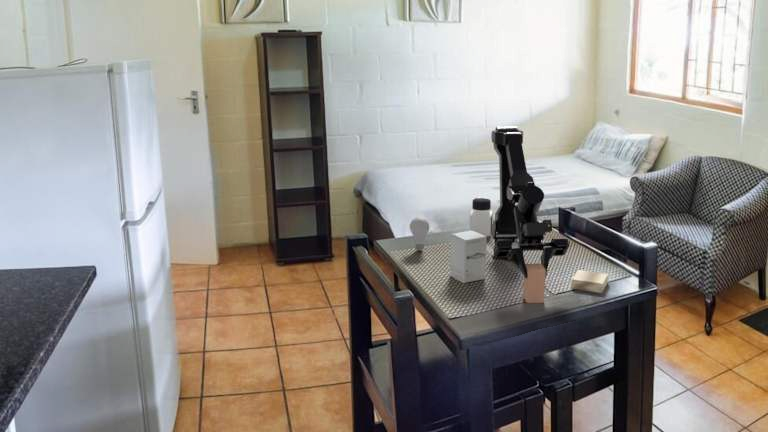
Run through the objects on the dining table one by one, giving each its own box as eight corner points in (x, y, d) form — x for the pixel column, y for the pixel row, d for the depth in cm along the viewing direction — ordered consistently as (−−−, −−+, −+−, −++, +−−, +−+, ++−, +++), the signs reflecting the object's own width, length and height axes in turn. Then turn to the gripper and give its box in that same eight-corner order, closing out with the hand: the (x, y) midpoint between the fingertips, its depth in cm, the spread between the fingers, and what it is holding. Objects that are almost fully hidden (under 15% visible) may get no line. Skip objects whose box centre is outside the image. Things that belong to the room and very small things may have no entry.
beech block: (571, 289, 189) (571, 279, 189) (577, 280, 196) (578, 269, 196) (601, 294, 186) (602, 283, 185) (607, 284, 193) (608, 274, 192)
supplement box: (464, 284, 194) (464, 240, 190) (449, 275, 200) (449, 233, 196) (486, 279, 197) (487, 236, 193) (471, 271, 203) (471, 229, 200)
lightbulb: (432, 249, 223) (433, 216, 220) (423, 255, 218) (423, 220, 215) (416, 246, 226) (415, 213, 223) (406, 252, 221) (406, 218, 218)
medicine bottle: (490, 236, 235) (491, 201, 232) (469, 235, 236) (470, 201, 233) (492, 230, 242) (493, 196, 239) (471, 229, 243) (471, 195, 240)
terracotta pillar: (522, 296, 184) (524, 264, 182) (539, 296, 184) (541, 263, 182) (527, 303, 180) (528, 269, 178) (544, 302, 180) (545, 269, 178)
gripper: (496, 209, 179) (504, 264, 172) (569, 207, 180) (580, 262, 172) (490, 230, 189) (497, 283, 181) (558, 228, 190) (569, 281, 182)
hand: (535, 277), depth 179 cm, fingers closed on terracotta pillar, 4 cm apart
